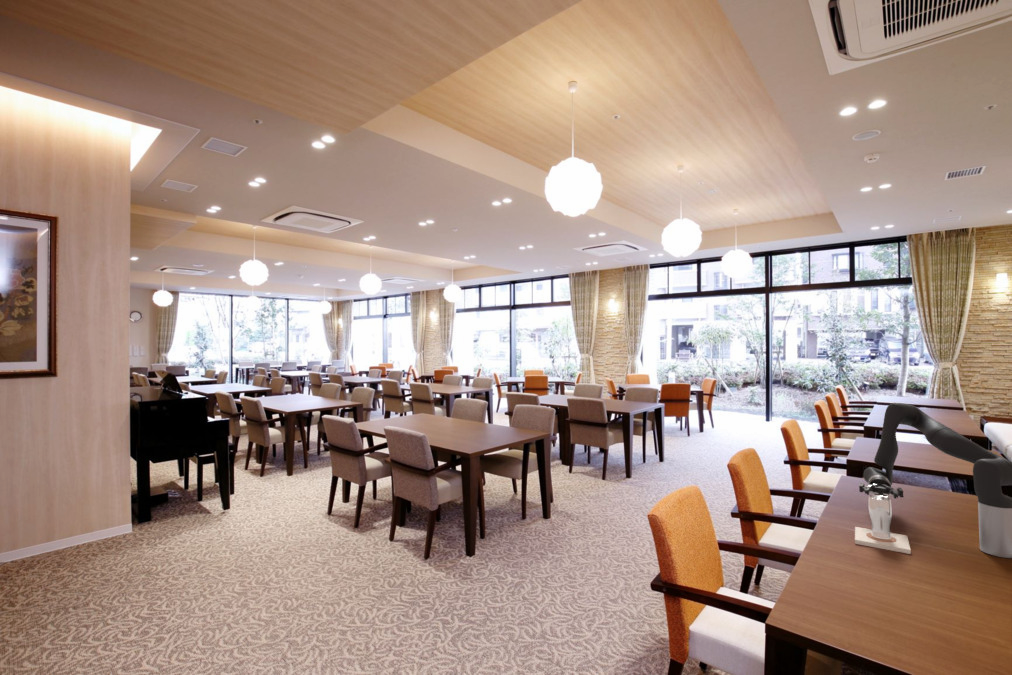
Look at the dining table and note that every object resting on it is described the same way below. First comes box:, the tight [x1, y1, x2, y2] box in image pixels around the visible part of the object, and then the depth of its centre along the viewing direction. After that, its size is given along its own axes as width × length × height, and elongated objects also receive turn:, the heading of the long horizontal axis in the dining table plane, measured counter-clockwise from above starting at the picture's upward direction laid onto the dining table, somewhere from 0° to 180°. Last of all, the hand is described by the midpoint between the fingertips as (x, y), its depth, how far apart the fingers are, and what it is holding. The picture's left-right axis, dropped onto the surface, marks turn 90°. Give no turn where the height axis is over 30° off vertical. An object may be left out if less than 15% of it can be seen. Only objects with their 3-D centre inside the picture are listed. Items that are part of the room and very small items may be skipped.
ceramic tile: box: [854, 526, 912, 555], centre depth 179 cm, size 16×16×2 cm
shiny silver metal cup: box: [867, 494, 893, 540], centre depth 180 cm, size 7×7×15 cm
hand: (881, 494), depth 190 cm, fingers open, 8 cm apart
